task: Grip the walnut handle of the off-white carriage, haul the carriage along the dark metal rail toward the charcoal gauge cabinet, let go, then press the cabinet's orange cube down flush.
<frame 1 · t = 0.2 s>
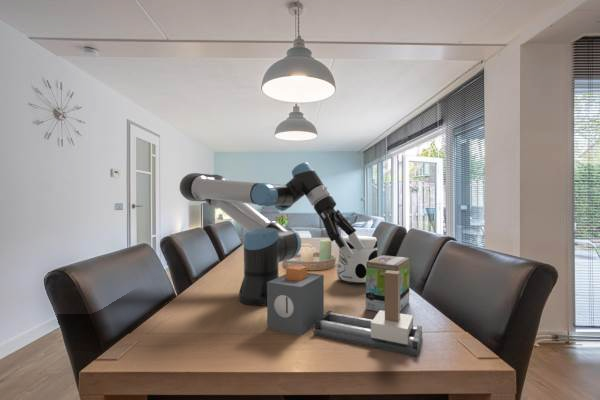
hand: (355, 252, 104), 16 cm above the table, tool tilted 35°, fingers open, 13 cm apart
tea box: (388, 306, 98), on the table
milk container: (358, 282, 127), on the table
carriage: (392, 302, 73), point 9 cm above the table, slide at 0.0 cm
orange cube: (296, 274, 84), point 13 cm above the table, slide at 0.0 cm
gauge cabinet: (296, 322, 84), on the table
rail track: (367, 336, 75), on the table
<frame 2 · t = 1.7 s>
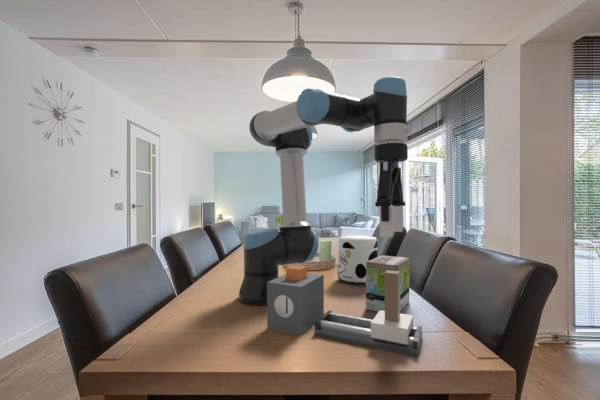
hand: (392, 234, 73), 25 cm above the table, tool pointing down, fingers open, 13 cm apart
nothing on the table moved.
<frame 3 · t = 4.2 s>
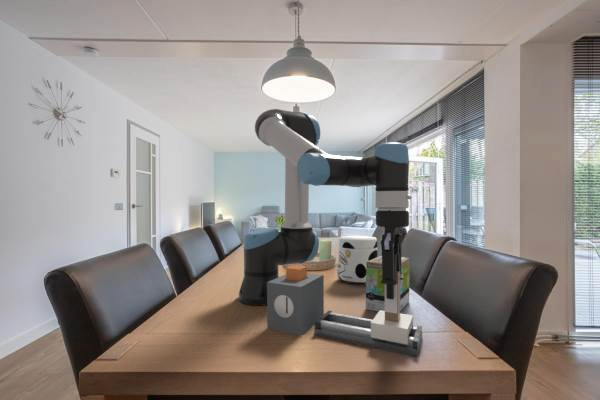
hand: (392, 309, 73), 8 cm above the table, tool pointing down, fingers closed on carriage, 3 cm apart
carriage: (392, 302, 73), point 9 cm above the table, slide at 0.0 cm, touching gripper
everything else where it was.
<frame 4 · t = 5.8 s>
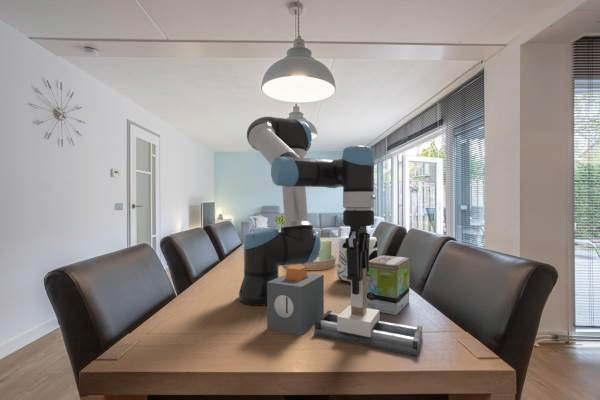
hand: (359, 304, 76), 8 cm above the table, tool pointing down, fingers closed on carriage, 3 cm apart
carriage: (358, 297, 76), point 9 cm above the table, slide at 8.1 cm, touching gripper
everything else where it was.
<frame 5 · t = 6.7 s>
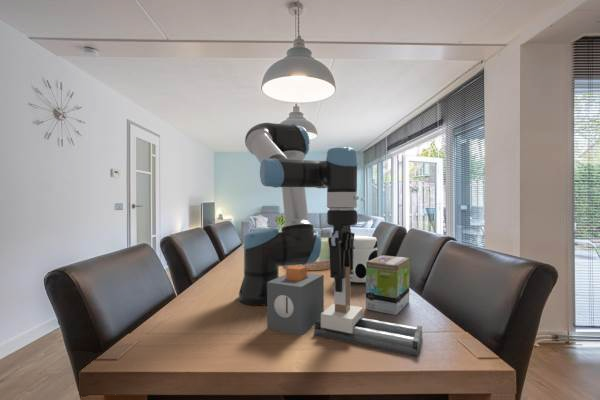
hand: (342, 301, 78), 8 cm above the table, tool pointing down, fingers closed on carriage, 3 cm apart
carriage: (342, 295, 78), point 9 cm above the table, slide at 12.4 cm, touching gripper
everything else where it was.
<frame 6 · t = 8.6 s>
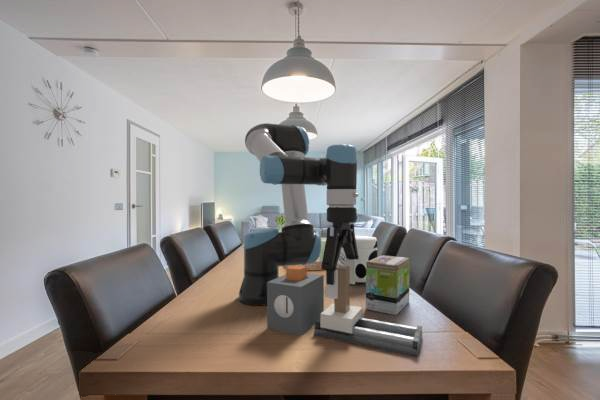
hand: (341, 290, 79), 10 cm above the table, tool pointing down, fingers open, 13 cm apart
carriage: (342, 295, 78), point 9 cm above the table, slide at 12.5 cm
everything else where it was.
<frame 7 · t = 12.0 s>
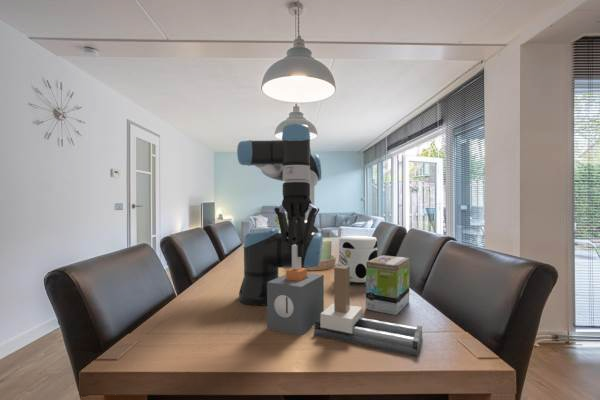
hand: (296, 268, 84), 15 cm above the table, tool pointing down, fingers closed
orange cube: (296, 276, 84), point 12 cm above the table, slide at 0.6 cm, touching gripper
everything else where it was.
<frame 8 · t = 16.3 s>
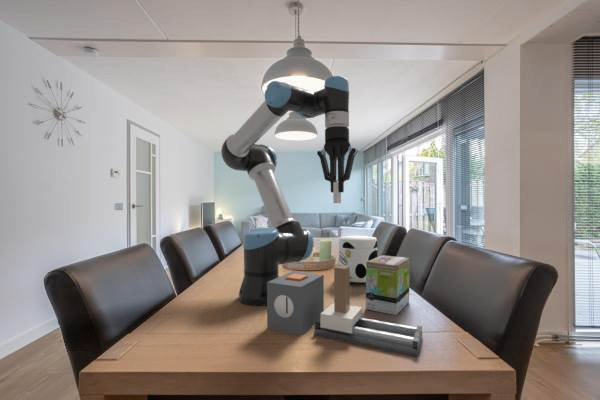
hand: (337, 203, 97), 32 cm above the table, tool pointing down, fingers closed
orange cube: (296, 283, 84), point 11 cm above the table, slide at 2.5 cm
everything else where it was.
at the end: carriage slide at 12.5 cm; orange cube slide at 2.5 cm; the gripper is holding nothing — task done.
